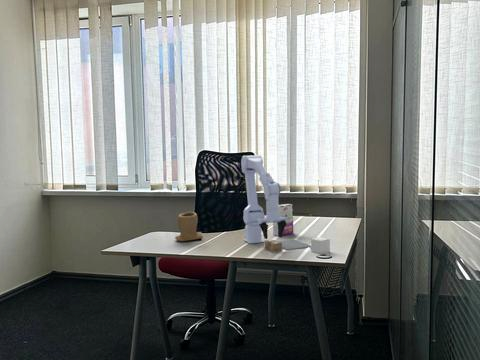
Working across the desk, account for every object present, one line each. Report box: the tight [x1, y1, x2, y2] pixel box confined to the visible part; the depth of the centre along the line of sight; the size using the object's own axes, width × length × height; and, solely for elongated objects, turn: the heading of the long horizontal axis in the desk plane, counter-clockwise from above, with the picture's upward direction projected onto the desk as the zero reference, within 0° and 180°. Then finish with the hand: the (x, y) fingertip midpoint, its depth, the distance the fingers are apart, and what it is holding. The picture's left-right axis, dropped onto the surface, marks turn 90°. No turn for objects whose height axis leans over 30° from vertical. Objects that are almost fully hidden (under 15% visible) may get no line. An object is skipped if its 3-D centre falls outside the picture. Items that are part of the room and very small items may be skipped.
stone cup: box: [175, 211, 204, 242], centre depth 240 cm, size 15×12×15 cm
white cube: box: [310, 236, 331, 255], centre depth 207 cm, size 6×6×6 cm
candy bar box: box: [272, 203, 294, 237], centre depth 250 cm, size 11×5×16 cm, turn 126°
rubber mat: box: [277, 239, 311, 251], centre depth 223 cm, size 18×14×1 cm
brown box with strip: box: [264, 239, 283, 253], centre depth 214 cm, size 9×4×4 cm, turn 23°
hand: (273, 237), depth 213 cm, fingers open, 7 cm apart
